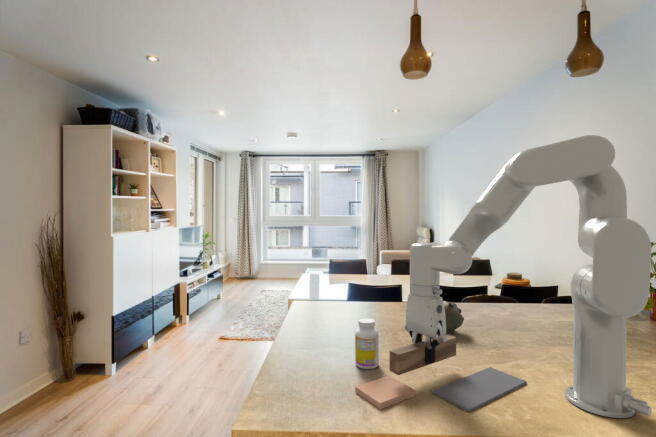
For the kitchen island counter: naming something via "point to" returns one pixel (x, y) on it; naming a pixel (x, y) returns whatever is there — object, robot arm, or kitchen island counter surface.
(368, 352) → the supplement bottle
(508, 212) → the robot arm
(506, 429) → the kitchen island counter surface
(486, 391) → the rubber mat
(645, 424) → the kitchen island counter surface
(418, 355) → the walnut bar
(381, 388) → the terracotta tile
